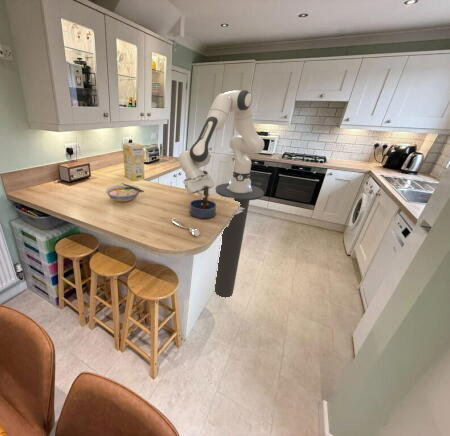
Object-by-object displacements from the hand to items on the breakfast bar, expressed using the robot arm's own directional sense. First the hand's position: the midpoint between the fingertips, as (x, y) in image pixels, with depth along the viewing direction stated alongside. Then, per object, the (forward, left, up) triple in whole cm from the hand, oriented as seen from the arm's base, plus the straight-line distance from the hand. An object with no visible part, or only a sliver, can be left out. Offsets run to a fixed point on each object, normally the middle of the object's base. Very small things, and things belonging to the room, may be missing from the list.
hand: (206, 196), depth 134 cm
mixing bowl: (+2, -1, -10) cm, 10 cm away
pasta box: (-47, -77, -10) cm, 91 cm away
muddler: (0, -1, -8) cm, 8 cm away
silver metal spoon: (+23, -5, -10) cm, 26 cm away
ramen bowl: (+3, -55, -10) cm, 56 cm away
